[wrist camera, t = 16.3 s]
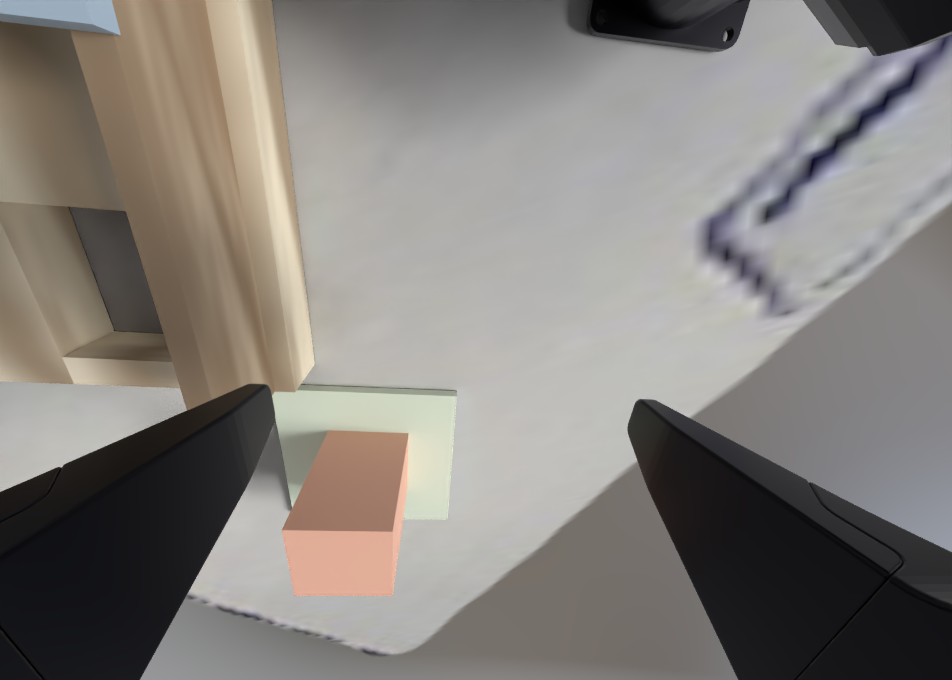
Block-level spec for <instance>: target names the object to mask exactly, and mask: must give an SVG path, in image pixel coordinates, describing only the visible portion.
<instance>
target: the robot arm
mask: <svg viewBox="0 0 952 680" xmlns="http://www.w3.org/2000/svg"><path fill="white" fill-rule="evenodd" d="M803 1H804V2H805V4H806V5H807V6H808V8H809V9H810V11H811V12H812V13H813V15H814V16H815V17H816V19H817V20H818V21H819V23H820V24H821V25H822V27H823V28H824V29H825V31H826V32H827V33H828V35H829V36H830V37H831V39H832V40H833V42H834V43H835V44H837V45H843V46H850V47H857V48H861V47H867V48H868V49H869V50H870V52H871V53H872V55H873V56H881V55H886V54H891V53H895V52H899V51H902V50H906V49H910V48H914V47H918V46H921V45H925V44H928V43H931V42H933V41H936V40H938V39H941V38H943V37H946V36H949V35H951V34H952V0H803ZM749 2H750V0H590V4H589V10H588V16H587V28H588V31H589V32H590V33H591V34H592V35H595V36H600V37H608V38H616V39H623V40H631V41H639V42H646V43H654V44H662V45H669V46H677V47H685V48H692V49H700V50H708V51H715V52H719V51H723V50H726V49H728V48H730V47H732V46H733V45H734V44H735V42H736V41H737V39H738V37H739V34H740V31H741V28H742V25H743V21H744V18H745V15H746V12H747V9H748V5H749ZM597 13H601V14H603V16H604V24H603V25H601V26H600V25H599V24H597V22H596V15H597ZM724 30H725V31H727V34H728V36H727V40H726V42H724V41H723V39H722V33H723V31H724ZM274 421H275V409H274V404H273V398H272V393H271V389H270V387H269V386H268V385H267V384H252V383H251V384H247V385H244V386H242V387H240V388H238V389H235V390H233V391H231V392H228V393H226V394H224V395H222V396H219V397H217V398H215V399H212V400H210V401H208V402H206V403H203V404H201V405H199V406H196V407H194V408H192V409H190V410H187V411H185V412H183V413H181V414H178V415H176V416H174V417H171V418H169V419H167V420H165V421H162V422H160V423H158V424H155V425H153V426H151V427H149V428H146V429H144V430H142V431H139V432H137V433H135V434H133V435H130V436H128V437H126V438H123V439H121V440H119V441H117V442H114V443H112V444H110V445H107V446H105V447H103V448H101V449H98V450H96V451H94V452H92V453H89V454H87V455H85V456H82V457H80V458H78V459H76V460H73V461H71V462H69V463H66V464H64V465H63V467H62V468H61V467H57V468H55V469H52V470H50V471H48V472H46V473H43V474H41V475H39V476H37V477H34V478H32V479H30V480H27V481H25V482H23V483H20V484H18V485H16V486H13V487H11V488H8V489H6V490H4V491H1V492H0V680H140V678H141V677H142V675H143V673H144V671H145V669H146V668H147V666H148V664H149V662H150V660H151V659H152V657H153V655H154V653H155V651H156V649H157V648H158V646H159V644H160V642H161V640H162V639H163V637H164V635H165V633H166V631H167V629H168V628H169V626H170V624H171V622H172V621H173V619H174V617H175V615H176V613H177V611H178V610H179V608H180V606H181V604H182V603H183V601H184V599H185V597H186V595H187V593H188V592H189V590H190V588H191V586H192V584H193V583H194V581H195V579H196V577H197V575H198V574H199V572H200V570H201V568H202V566H203V565H204V563H205V561H206V559H207V557H208V556H209V554H210V552H211V550H212V548H213V547H214V545H215V543H216V541H217V539H218V537H219V536H220V534H221V532H222V530H223V528H224V527H225V525H226V523H227V521H228V519H229V518H230V516H231V514H232V512H233V510H234V509H235V507H236V505H237V503H238V501H239V500H240V498H241V496H242V494H243V492H244V491H245V489H246V487H247V485H248V483H249V481H250V479H251V477H252V474H253V472H254V470H255V467H256V465H257V463H258V460H259V458H260V455H261V453H262V451H263V448H264V446H265V443H266V441H267V439H268V436H269V434H270V431H271V429H272V427H273V424H274ZM628 435H629V438H630V441H631V444H632V446H633V449H634V452H635V455H636V458H637V461H638V463H639V466H640V469H641V472H642V475H643V477H644V480H645V483H646V485H647V488H648V490H649V492H650V494H651V497H652V499H653V501H654V503H655V505H656V508H657V510H658V512H659V514H660V516H661V518H662V520H663V522H664V524H665V526H666V529H667V531H668V533H669V535H670V537H671V539H672V541H673V543H674V545H675V548H676V550H677V551H678V553H679V556H680V558H681V560H682V562H683V564H684V567H685V569H686V571H687V573H688V575H689V577H690V579H691V581H692V583H693V586H694V587H695V589H696V592H697V594H698V596H699V598H700V600H701V602H702V604H703V606H704V609H705V611H706V613H707V615H708V617H709V619H710V621H711V623H712V625H713V628H714V630H715V632H716V634H717V636H718V638H719V640H720V642H721V644H722V647H723V649H724V651H725V653H726V655H727V657H728V659H729V661H730V663H731V665H732V667H733V670H734V672H735V674H736V676H737V678H738V680H952V552H950V551H948V550H946V549H944V548H942V547H940V546H938V545H936V544H934V543H931V542H929V541H927V540H925V539H923V538H921V537H919V536H917V535H915V534H913V533H911V532H909V531H907V530H905V529H902V528H900V527H898V526H896V525H894V524H892V523H890V522H888V521H886V520H884V519H882V518H880V517H878V516H876V515H874V514H872V513H870V512H868V511H865V510H864V509H862V508H860V507H858V506H856V505H854V504H852V503H850V502H848V501H846V500H844V499H842V498H840V497H838V496H837V495H835V494H833V493H831V492H829V491H826V490H825V489H823V488H821V487H819V486H817V485H816V484H813V483H811V482H810V483H808V481H807V480H806V479H804V478H802V477H800V476H798V475H796V474H794V473H793V472H791V471H789V470H787V469H785V468H783V467H781V466H779V465H777V464H775V463H773V462H772V461H770V460H768V459H766V458H764V457H762V456H760V455H758V454H757V453H755V452H753V451H751V450H749V449H747V448H745V447H743V446H741V445H739V444H738V443H736V442H734V441H732V440H730V439H728V438H726V437H724V436H722V435H720V434H719V433H717V432H715V431H713V430H711V429H709V428H707V427H705V426H703V425H701V424H700V423H698V422H696V421H694V420H692V419H690V418H688V417H686V416H684V415H682V414H681V413H679V412H677V411H675V410H673V409H671V408H669V407H667V406H665V405H663V404H662V403H660V402H658V401H656V400H650V399H639V400H637V401H636V403H635V405H634V408H633V411H632V414H631V417H630V420H629V423H628Z"/></svg>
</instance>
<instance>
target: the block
mask: <svg viewBox="0 0 952 680" xmlns="http://www.w3.org/2000/svg"><path fill="white" fill-rule="evenodd" d="M408 441H409V433H386V432H360V431H335V430H328V433H327V435H326V437H325V439H324V441H323V443H322V445H321V448H320V450H319V452H318V454H317V456H316V458H315V460H314V463H313V465H312V467H311V469H310V471H309V473H308V475H307V478H306V480H305V482H304V484H303V486H302V488H301V490H300V493H299V495H298V497H297V499H296V501H295V503H294V505H293V508H292V510H291V512H290V514H289V516H288V518H287V520H286V523H285V525H284V527H283V529H282V533H283V538H284V544H285V549H286V554H287V559H288V565H289V570H290V575H291V581H292V586H293V591H294V596H393V589H394V582H395V574H396V567H397V560H398V553H399V546H400V539H401V531H402V524H403V517H404V510H405V503H406V495H407V482H408Z"/></svg>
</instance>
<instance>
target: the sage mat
mask: <svg viewBox="0 0 952 680" xmlns="http://www.w3.org/2000/svg"><path fill="white" fill-rule="evenodd" d="M272 398H273V404H274V409H275V418H276V424H277V429H278V434H279V440H280V445H281V451H282V456H283V461H284V467H285V472H286V478H287V483H288V489H289V494H290V499H291V505H292V508H293V505H294V503H295V501H296V499H297V497H298V495H299V493H300V490H301V488H302V486H303V484H304V482H305V480H306V478H307V475H308V473H309V471H310V469H311V467H312V465H313V463H314V460H315V458H316V456H317V454H318V452H319V450H320V448H321V445H322V443H323V441H324V439H325V437H326V435H327V433H328V430H335V431H360V432H386V433H409V441H408V482H407V495H406V503H405V510H404V517H403V519H436V520H448V506H449V493H450V480H451V466H452V453H453V440H454V426H455V413H456V400H457V391H446V390H421V389H396V388H371V387H346V386H321V385H300V386H299V388H298V389H297V391H296V392H274V394H273V395H272Z"/></svg>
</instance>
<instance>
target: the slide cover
mask: <svg viewBox="0 0 952 680" xmlns="http://www.w3.org/2000/svg"><path fill="white" fill-rule="evenodd" d="M0 21H2V22H10V23H19V24H28V25H36V26H45V27H53V28H62V29H71V30H79V31H88V32H96V33H105V34H114V35H121V34H120V30H119V26H118V23H117V19H116V15H115V11H114V7H113V4H112V0H0Z"/></svg>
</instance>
